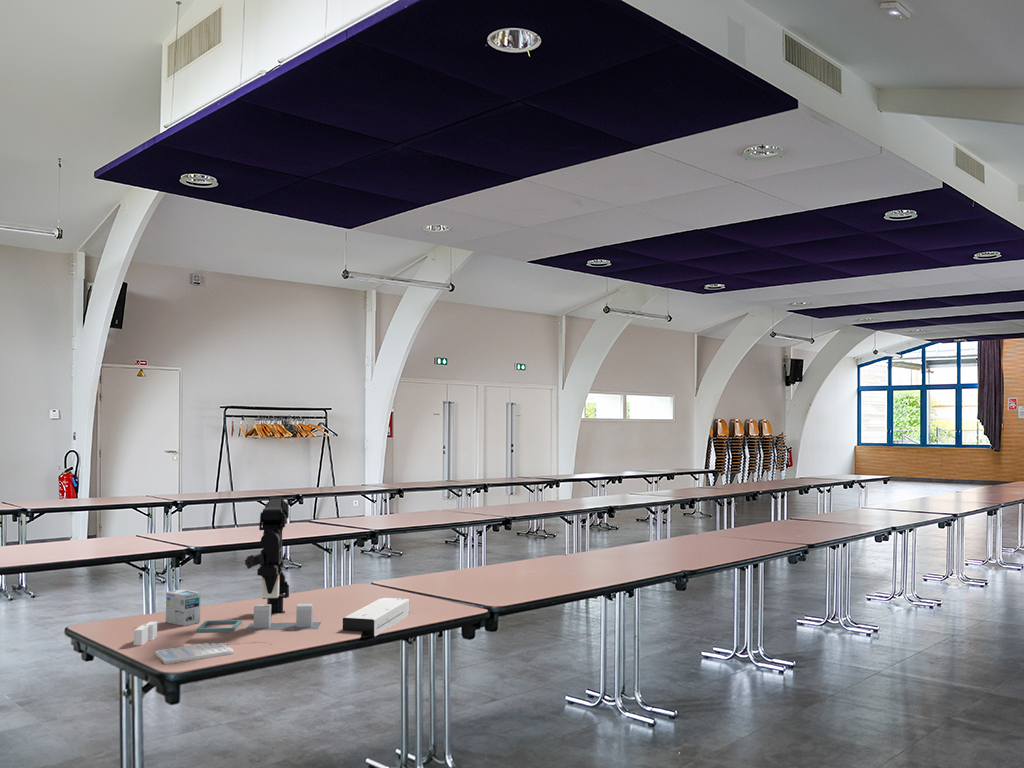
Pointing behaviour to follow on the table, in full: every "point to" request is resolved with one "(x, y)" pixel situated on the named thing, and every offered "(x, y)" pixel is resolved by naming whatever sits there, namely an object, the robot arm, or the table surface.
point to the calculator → (194, 652)
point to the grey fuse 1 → (262, 616)
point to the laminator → (377, 616)
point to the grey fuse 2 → (304, 615)
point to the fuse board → (282, 626)
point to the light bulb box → (183, 607)
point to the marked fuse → (274, 592)
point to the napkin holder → (145, 633)
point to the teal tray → (203, 629)
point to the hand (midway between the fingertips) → (270, 592)
